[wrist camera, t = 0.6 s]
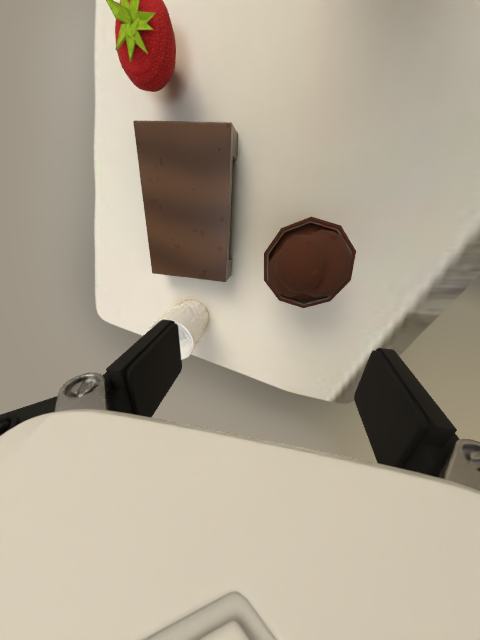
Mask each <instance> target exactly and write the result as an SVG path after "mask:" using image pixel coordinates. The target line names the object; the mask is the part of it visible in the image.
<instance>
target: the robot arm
mask: <svg viewBox="0 0 480 640" xmlns="http://www.w3.org/2000/svg"><path fill="white" fill-rule="evenodd" d="M181 369H182V361H181V351H180V341H179V331H178V325H177V324H175V322H174V321H172V320H165V319H162V320H161V321H159V322H158V323H157V324H156V325H155V326H154V327H153V328H152V329H150V330H149V331H148V332H147V333H146V334H145V335H144V336H143V337H142V338H140V339H139V340H138V341H137V342H136V343H135V344H134V345H133V346H131V347H130V348H129V349H128V350H127V351H126V352H125V353H124V354H122V355H121V356H120V357H119V358H118V359H117V360H116V361H115V362H113V363H112V364H111V365H110V366H109V367H108V368H107V369H106V370H107V372H106V373H105V374H104V375H101V374H99V373H86V374H82V375H80V376H76V377H74V378H72V379H70V380H69V381H68V382H66V383H65V384H64V385H63V386H62V387H61V388H60V390H59V393H58V396H57V397H53V398H50V399H47V400H44V401H41V402H38V403H35V404H32V405H29V406H26V407H23V408H20V409H17V410H14V411H11V412H7V413H5V414H1V415H0V640H480V442H477V441H474V440H470V439H459V438H458V437H457V435H456V434H455V432H456V431H457V430H456V428H455V427H454V426H453V424H452V423H451V422H450V421H449V419H448V418H447V417H446V415H445V414H444V413H443V412H442V410H441V409H440V408H439V407H438V405H437V404H436V403H435V402H434V400H433V399H432V398H431V396H430V395H429V394H428V393H427V391H426V390H425V389H424V387H423V386H422V385H421V384H420V382H419V381H418V380H417V379H416V377H415V376H414V375H413V373H412V372H411V371H410V370H409V368H408V367H407V366H406V365H405V363H404V362H403V361H402V360H401V358H400V357H399V356H398V354H397V353H396V352H395V351H394V350H391V349H383V348H378V349H377V350H376V351H372V353H371V355H370V357H369V360H368V362H367V365H366V367H365V370H364V372H363V375H362V377H361V380H360V382H359V385H358V387H357V390H356V392H355V396H354V399H355V403H356V406H357V408H358V411H359V414H360V417H361V419H362V422H363V425H364V427H365V430H366V433H367V436H368V438H369V441H370V444H371V446H372V449H373V452H374V454H375V457H376V460H377V463H373V462H369V461H365V460H360V459H355V458H350V457H345V456H341V455H336V454H331V453H326V452H321V451H316V450H311V449H307V448H302V447H297V446H292V445H287V444H282V443H278V442H272V441H268V440H263V439H258V438H253V437H248V436H242V435H238V434H233V433H228V432H223V431H218V430H212V429H208V428H203V427H198V426H193V425H187V424H182V423H177V422H172V421H167V420H162V419H156V418H151V417H152V415H153V414H154V412H155V411H156V409H157V408H158V406H159V405H160V403H161V401H162V400H163V398H164V396H165V395H166V393H167V392H168V390H169V389H170V387H171V386H172V384H173V383H174V381H175V379H176V378H177V377H178V375H179V373H180V371H181Z"/></svg>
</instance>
